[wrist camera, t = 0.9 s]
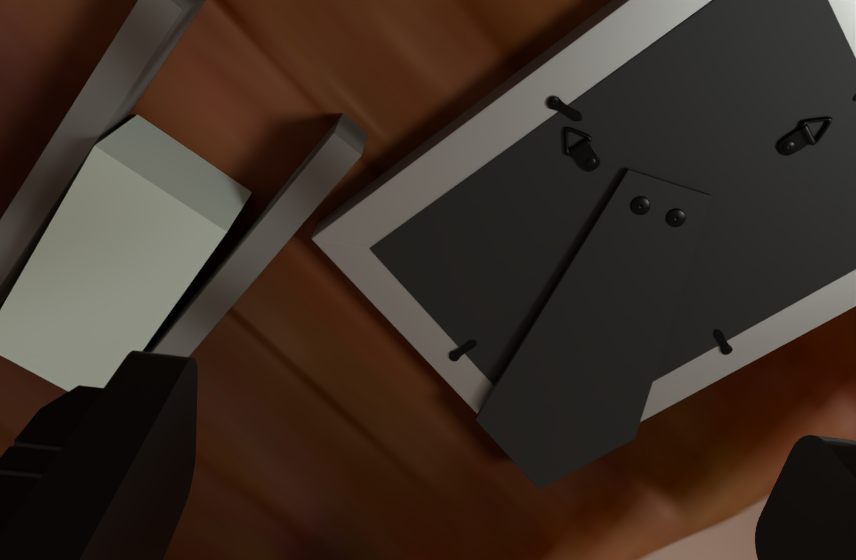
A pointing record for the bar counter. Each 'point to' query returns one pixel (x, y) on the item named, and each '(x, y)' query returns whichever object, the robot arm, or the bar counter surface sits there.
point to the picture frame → (621, 219)
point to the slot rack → (105, 112)
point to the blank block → (116, 256)
